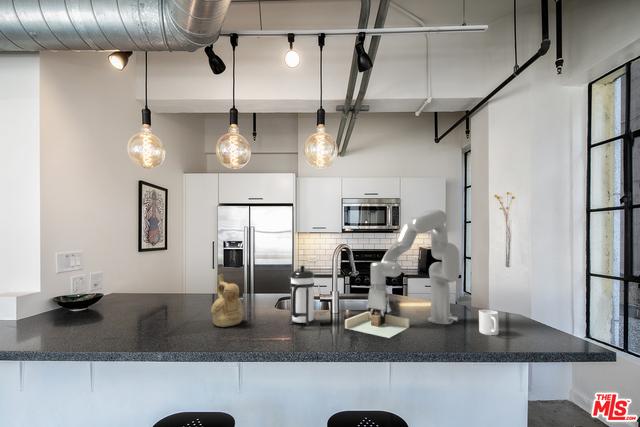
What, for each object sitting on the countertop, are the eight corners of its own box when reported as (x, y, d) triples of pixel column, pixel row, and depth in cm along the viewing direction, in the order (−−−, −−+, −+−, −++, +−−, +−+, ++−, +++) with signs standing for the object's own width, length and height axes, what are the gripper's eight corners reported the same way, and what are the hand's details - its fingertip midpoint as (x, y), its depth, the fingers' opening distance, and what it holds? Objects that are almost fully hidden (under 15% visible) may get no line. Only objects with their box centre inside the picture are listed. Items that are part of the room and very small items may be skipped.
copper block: (378, 327, 169) (378, 316, 169) (370, 325, 172) (371, 315, 172) (385, 323, 175) (385, 313, 176) (378, 322, 178) (378, 312, 178)
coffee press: (282, 320, 182) (282, 264, 183) (310, 317, 188) (310, 263, 190) (292, 329, 166) (293, 268, 167) (322, 326, 172) (322, 266, 174)
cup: (493, 330, 166) (493, 309, 167) (505, 338, 154) (505, 316, 155) (476, 330, 167) (476, 309, 167) (487, 338, 155) (486, 315, 155)
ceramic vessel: (219, 331, 163) (220, 278, 164) (203, 322, 178) (204, 274, 179) (250, 324, 175) (251, 275, 176) (233, 317, 189) (233, 272, 190)
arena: (409, 328, 170) (409, 318, 170) (389, 339, 153) (389, 328, 153) (367, 319, 185) (367, 311, 185) (344, 329, 168) (344, 319, 168)
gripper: (396, 287, 172) (396, 323, 171) (367, 283, 183) (367, 318, 182) (389, 289, 166) (389, 327, 165) (360, 285, 177) (360, 321, 176)
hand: (378, 322), depth 174 cm, fingers open, 4 cm apart
